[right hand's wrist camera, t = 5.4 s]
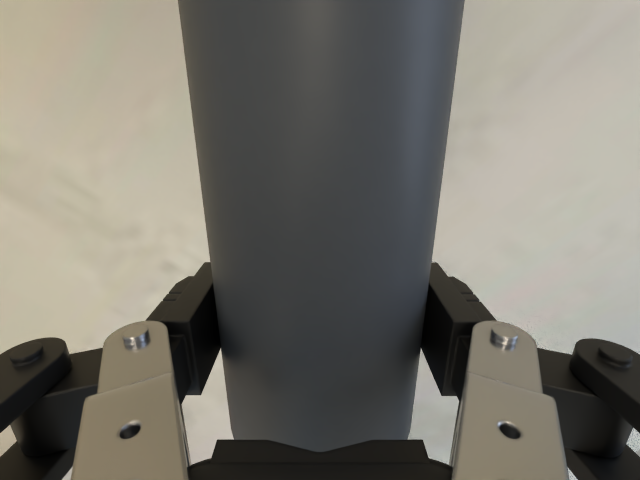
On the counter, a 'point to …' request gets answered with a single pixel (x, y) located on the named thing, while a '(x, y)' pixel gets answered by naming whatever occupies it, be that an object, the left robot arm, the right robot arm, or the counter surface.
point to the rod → (321, 204)
